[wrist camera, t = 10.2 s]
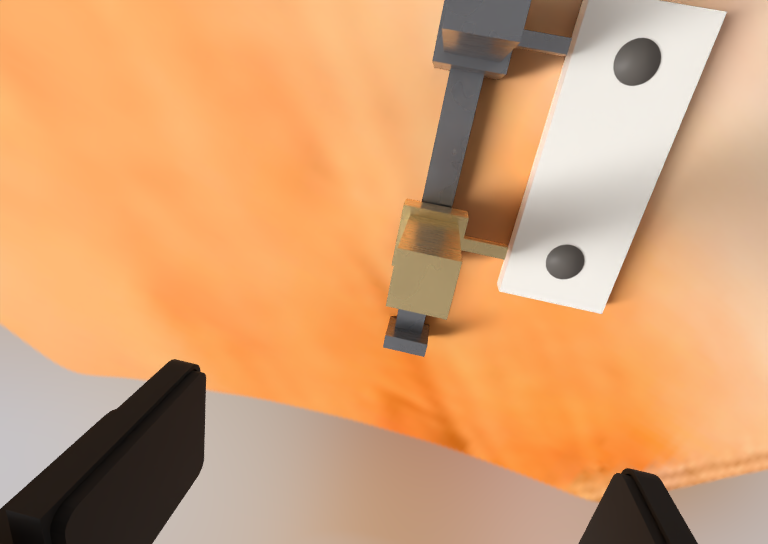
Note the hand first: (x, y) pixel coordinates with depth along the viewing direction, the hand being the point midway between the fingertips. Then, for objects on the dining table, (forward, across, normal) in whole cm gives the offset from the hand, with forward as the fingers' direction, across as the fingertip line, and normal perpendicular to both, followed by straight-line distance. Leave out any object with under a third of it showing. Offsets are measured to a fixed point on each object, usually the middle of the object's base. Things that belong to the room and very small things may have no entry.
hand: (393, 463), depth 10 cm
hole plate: (+22, -9, -6) cm, 24 cm away
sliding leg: (+20, -2, 0) cm, 20 cm away
